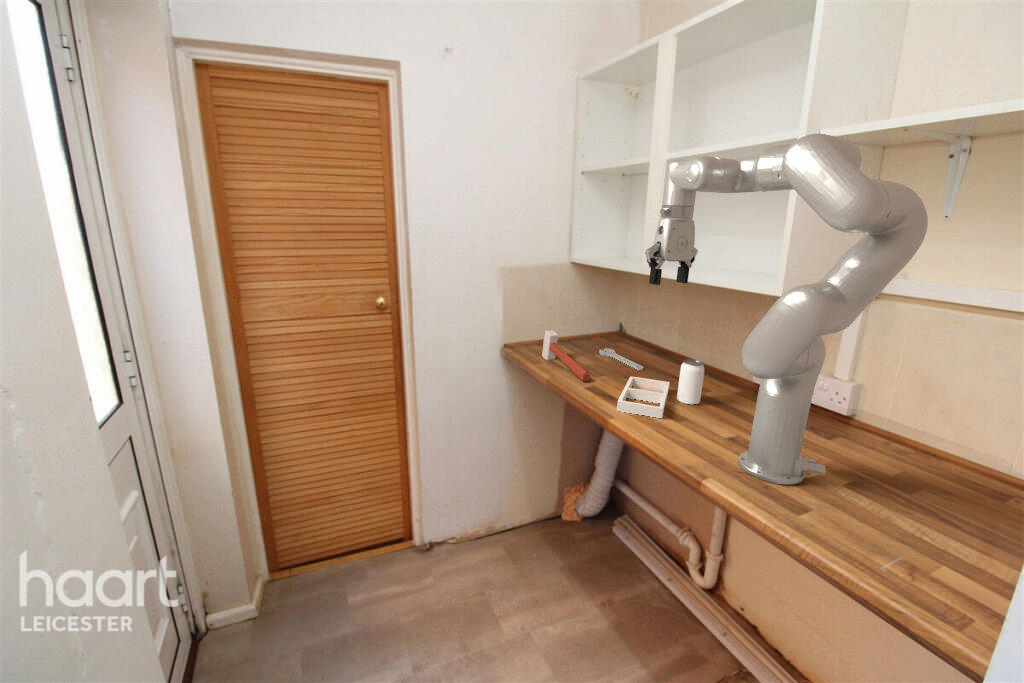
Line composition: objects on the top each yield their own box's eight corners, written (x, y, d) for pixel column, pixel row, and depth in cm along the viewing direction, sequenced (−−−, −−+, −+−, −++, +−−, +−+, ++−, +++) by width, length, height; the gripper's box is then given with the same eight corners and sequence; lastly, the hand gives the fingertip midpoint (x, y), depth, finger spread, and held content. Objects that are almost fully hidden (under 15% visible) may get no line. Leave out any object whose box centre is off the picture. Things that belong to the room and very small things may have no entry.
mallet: (593, 364, 149) (553, 329, 175) (583, 365, 148) (544, 330, 173) (588, 393, 153) (549, 355, 179) (579, 394, 152) (541, 355, 178)
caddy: (668, 391, 145) (669, 382, 144) (661, 419, 124) (663, 408, 124) (629, 385, 149) (630, 376, 149) (616, 411, 129) (617, 401, 128)
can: (672, 397, 140) (677, 359, 137) (693, 396, 141) (698, 358, 138) (682, 405, 134) (687, 365, 131) (703, 405, 135) (709, 365, 132)
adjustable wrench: (644, 371, 165) (645, 366, 164) (629, 373, 163) (629, 368, 162) (610, 351, 188) (610, 347, 187) (595, 352, 186) (595, 348, 185)
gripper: (663, 213, 107) (654, 287, 112) (713, 215, 115) (703, 284, 120) (639, 212, 113) (632, 283, 118) (689, 214, 121) (680, 280, 126)
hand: (668, 283), depth 119 cm, fingers open, 9 cm apart
